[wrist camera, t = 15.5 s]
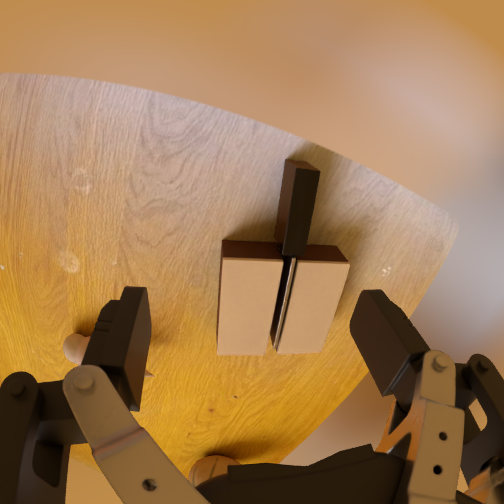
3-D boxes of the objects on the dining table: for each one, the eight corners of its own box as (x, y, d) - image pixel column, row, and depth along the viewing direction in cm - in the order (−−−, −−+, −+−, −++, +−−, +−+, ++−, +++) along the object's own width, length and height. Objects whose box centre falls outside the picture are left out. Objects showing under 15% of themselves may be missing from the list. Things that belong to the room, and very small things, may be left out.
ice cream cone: (146, 401, 33) (52, 364, 32) (155, 390, 39) (70, 359, 38) (155, 359, 35) (59, 324, 34) (163, 353, 41) (76, 324, 40)
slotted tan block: (221, 239, 33) (223, 259, 29) (336, 245, 36) (350, 264, 32) (216, 331, 40) (217, 355, 36) (312, 330, 42) (321, 352, 38)
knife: (285, 159, 30) (297, 169, 25) (306, 161, 30) (322, 172, 26) (260, 322, 40) (265, 348, 36) (277, 322, 40) (284, 348, 36)
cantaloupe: (255, 457, 64) (263, 505, 50) (211, 469, 66) (215, 513, 53) (222, 442, 57) (227, 498, 44) (175, 454, 59) (175, 505, 46)
